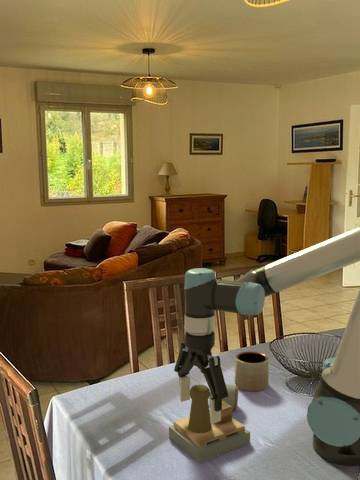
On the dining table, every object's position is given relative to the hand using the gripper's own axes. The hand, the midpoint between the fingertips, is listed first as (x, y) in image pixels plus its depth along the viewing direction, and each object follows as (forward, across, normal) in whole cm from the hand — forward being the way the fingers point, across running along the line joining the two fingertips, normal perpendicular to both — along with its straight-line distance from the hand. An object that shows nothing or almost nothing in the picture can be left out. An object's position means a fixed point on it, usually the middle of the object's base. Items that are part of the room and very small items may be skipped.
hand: (199, 410), depth 129 cm
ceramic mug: (+9, +13, -18) cm, 24 cm away
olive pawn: (+5, 0, 0) cm, 5 cm away
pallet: (+6, 0, -3) cm, 7 cm away
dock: (+9, 0, -3) cm, 9 cm away
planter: (+9, +19, -34) cm, 40 cm away
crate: (+4, 0, -7) cm, 8 cm away
